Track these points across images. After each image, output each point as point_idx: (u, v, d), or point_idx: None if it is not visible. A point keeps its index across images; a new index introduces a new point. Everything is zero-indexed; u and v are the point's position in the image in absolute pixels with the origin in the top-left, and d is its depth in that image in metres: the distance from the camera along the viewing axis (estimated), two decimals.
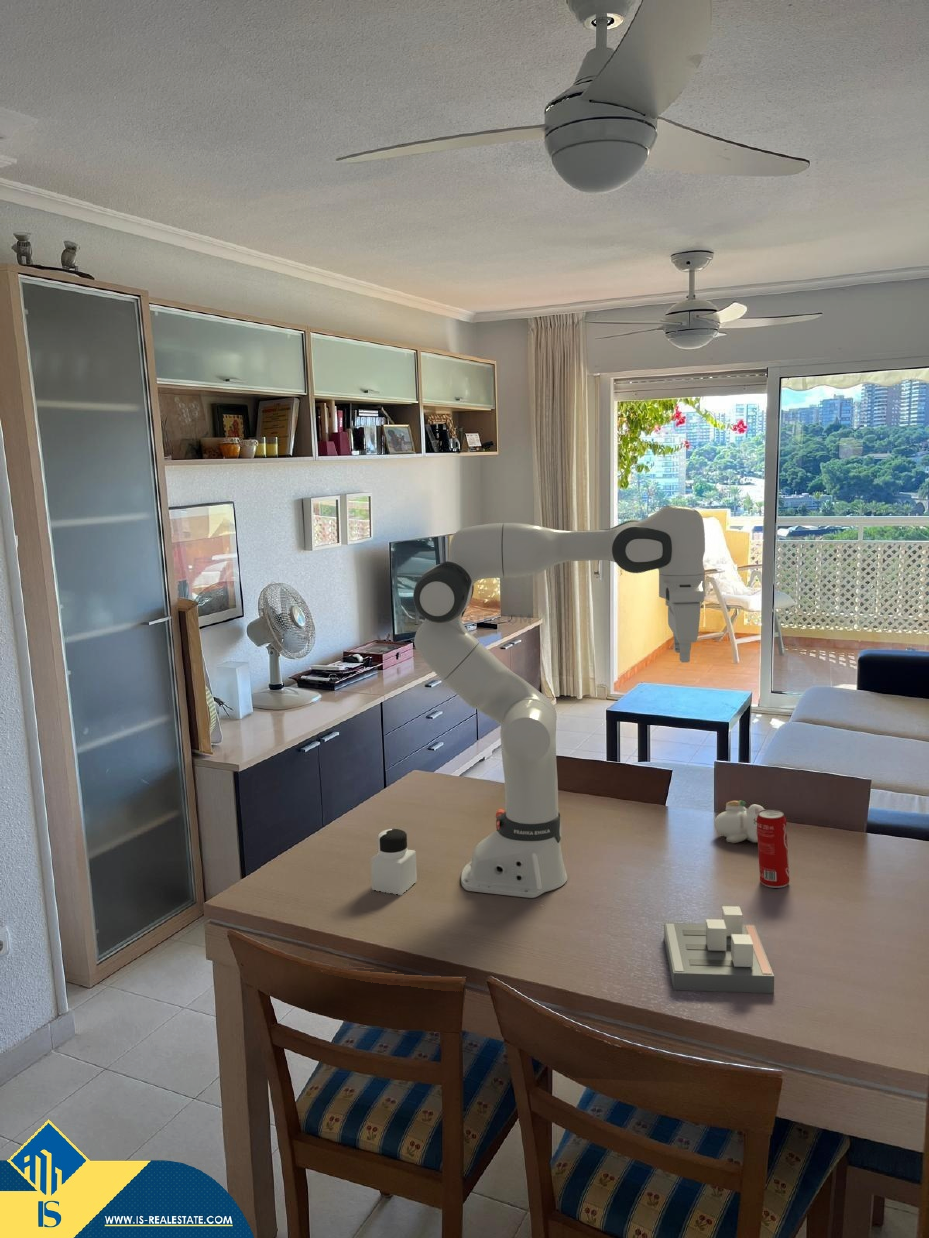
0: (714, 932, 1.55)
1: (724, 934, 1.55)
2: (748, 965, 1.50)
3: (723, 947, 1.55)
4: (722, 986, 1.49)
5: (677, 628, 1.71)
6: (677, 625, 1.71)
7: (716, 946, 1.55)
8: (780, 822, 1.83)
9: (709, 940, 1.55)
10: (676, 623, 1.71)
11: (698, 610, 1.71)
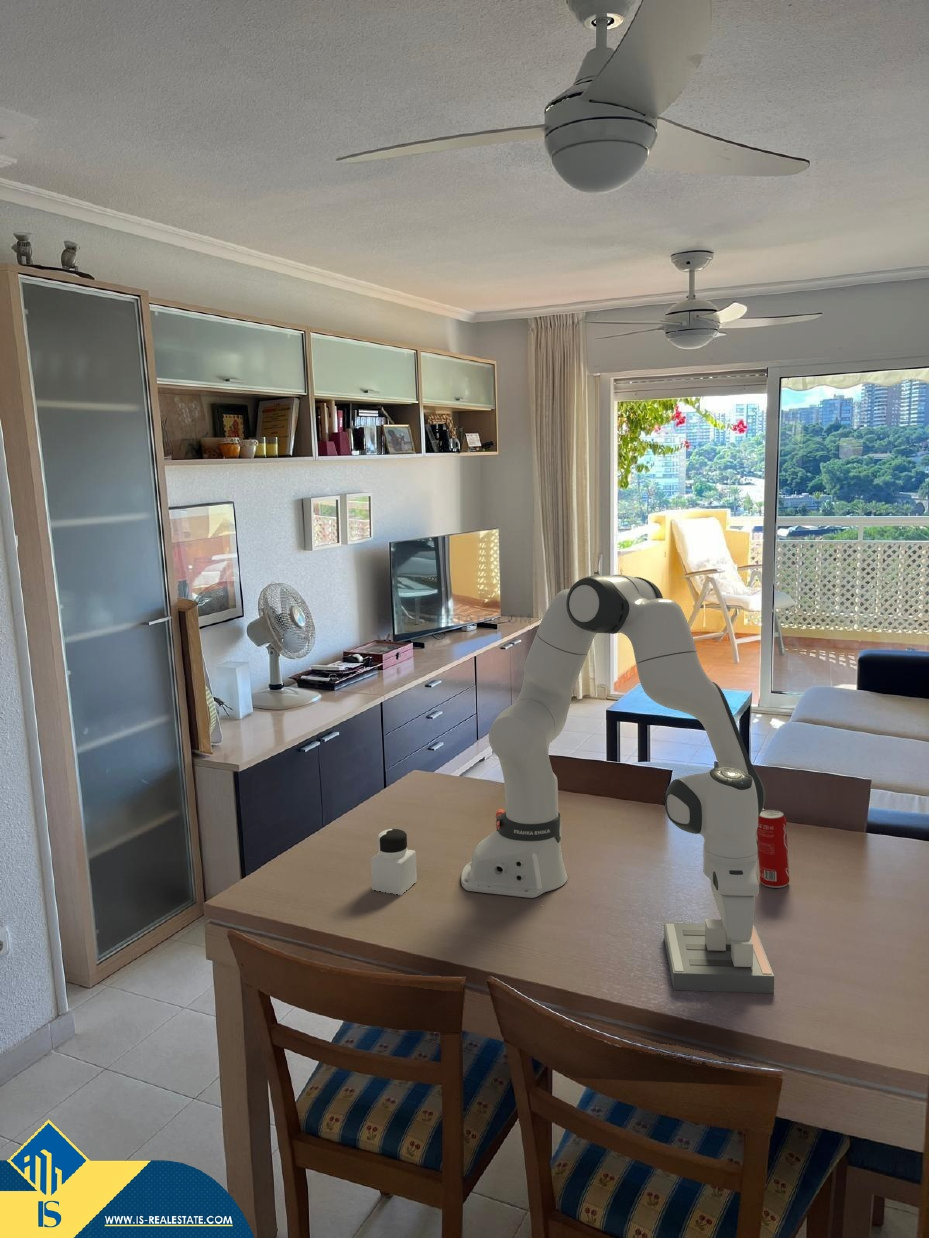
0: (713, 932, 1.55)
1: (723, 934, 1.55)
2: (748, 965, 1.50)
3: (722, 947, 1.55)
4: (722, 986, 1.49)
5: (727, 927, 1.46)
6: (727, 923, 1.46)
7: (715, 946, 1.55)
8: (780, 822, 1.83)
9: (708, 940, 1.55)
10: (726, 920, 1.46)
11: (752, 906, 1.46)
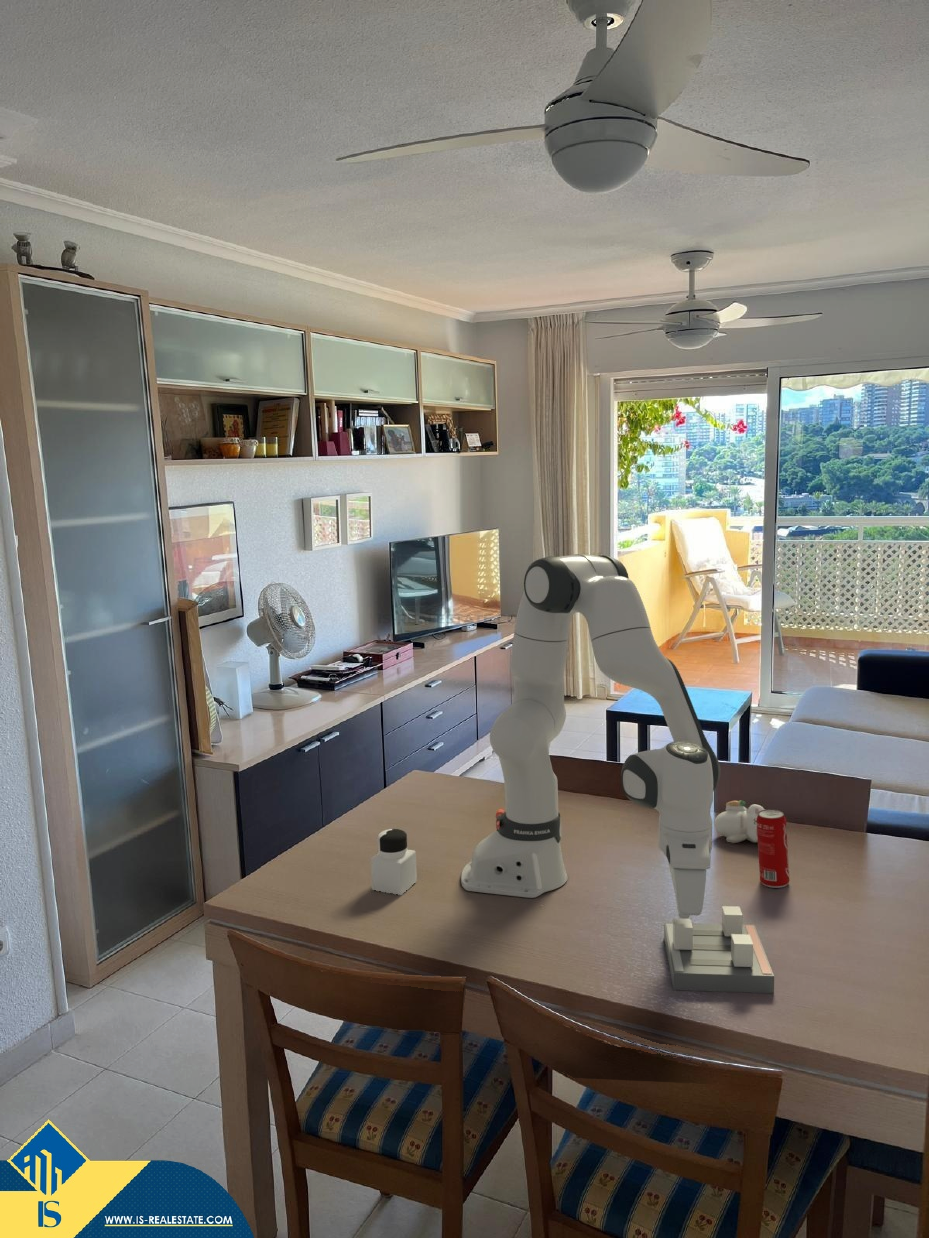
0: (680, 931, 1.56)
1: (690, 933, 1.55)
2: (748, 965, 1.50)
3: (689, 946, 1.56)
4: (722, 986, 1.49)
5: (678, 899, 1.46)
6: (678, 896, 1.46)
7: (682, 945, 1.56)
8: (780, 822, 1.83)
9: (675, 939, 1.56)
10: (677, 893, 1.46)
11: (703, 880, 1.46)
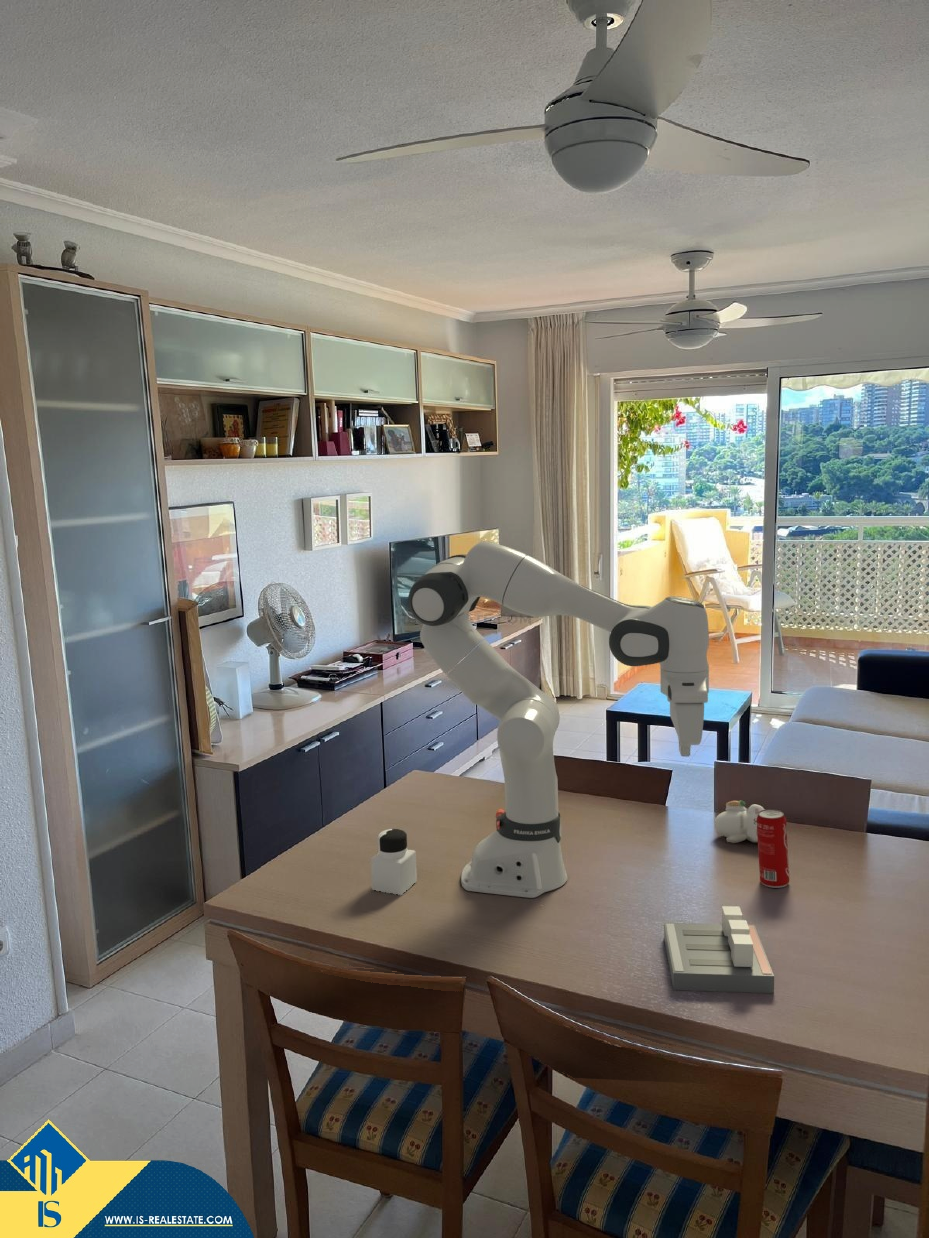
0: (737, 933, 1.54)
1: None
2: (748, 965, 1.50)
3: None
4: (722, 986, 1.49)
5: (680, 730, 1.63)
6: (680, 727, 1.62)
7: None
8: (780, 822, 1.83)
9: None
10: (679, 725, 1.63)
11: (702, 711, 1.62)
